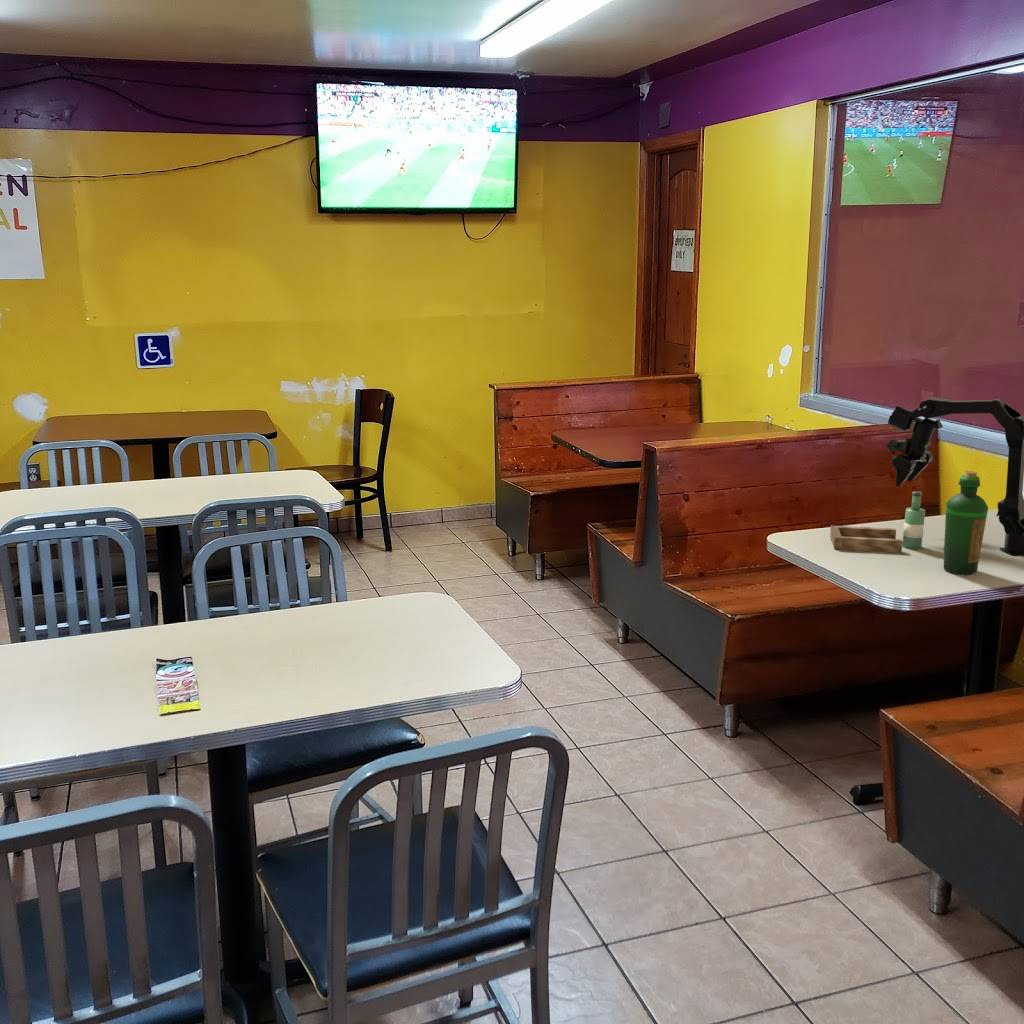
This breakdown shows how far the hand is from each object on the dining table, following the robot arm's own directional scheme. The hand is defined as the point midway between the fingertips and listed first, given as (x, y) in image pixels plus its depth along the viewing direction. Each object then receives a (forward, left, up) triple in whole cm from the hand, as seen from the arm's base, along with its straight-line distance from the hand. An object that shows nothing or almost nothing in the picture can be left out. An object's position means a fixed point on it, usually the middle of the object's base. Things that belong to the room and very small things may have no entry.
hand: (903, 483), depth 319 cm
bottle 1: (-16, +5, -15) cm, 23 cm away
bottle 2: (-40, +4, -16) cm, 44 cm away
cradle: (-12, +17, -15) cm, 26 cm away
